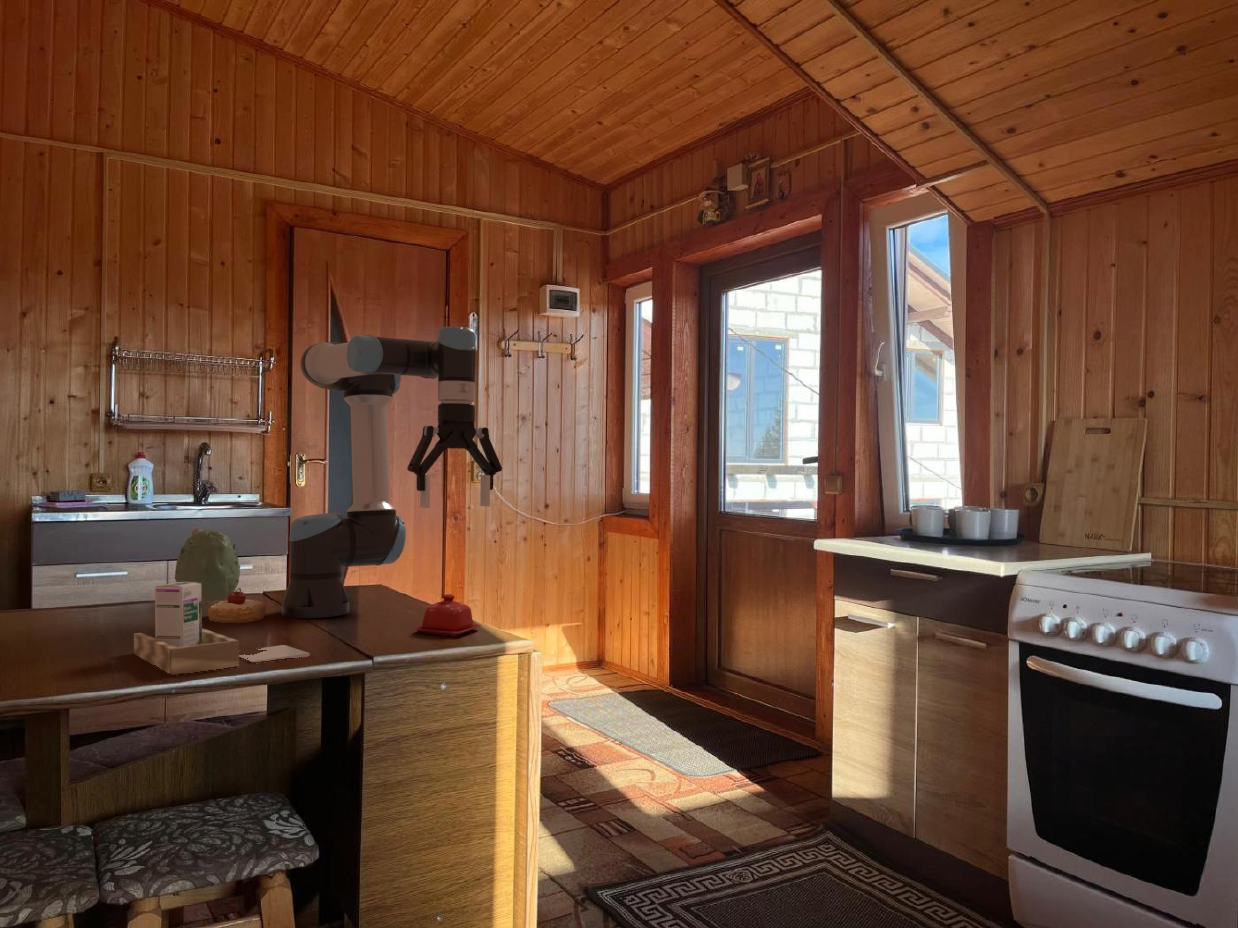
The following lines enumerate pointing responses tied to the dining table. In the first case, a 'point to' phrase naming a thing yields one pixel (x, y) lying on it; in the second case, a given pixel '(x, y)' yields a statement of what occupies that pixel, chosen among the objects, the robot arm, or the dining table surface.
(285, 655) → the coaster
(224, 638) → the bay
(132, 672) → the dining table surface
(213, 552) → the green lumpy fruit
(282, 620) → the dining table surface
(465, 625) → the butter dish
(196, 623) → the syrup box
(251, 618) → the pastry
